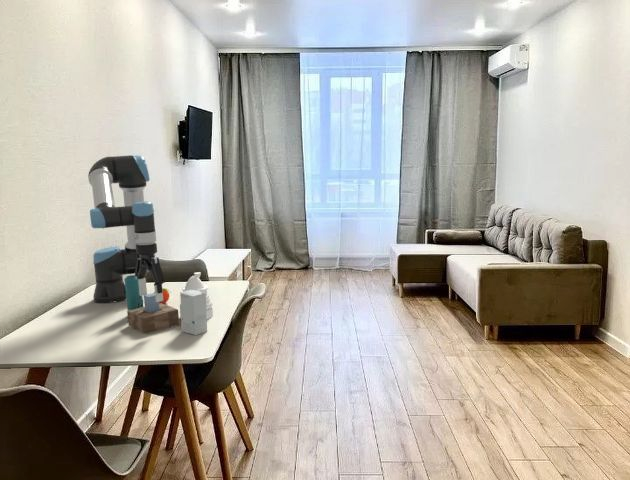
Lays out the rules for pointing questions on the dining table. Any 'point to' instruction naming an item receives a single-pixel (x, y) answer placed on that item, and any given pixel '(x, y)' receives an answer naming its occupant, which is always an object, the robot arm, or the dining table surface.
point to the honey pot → (197, 285)
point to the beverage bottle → (132, 290)
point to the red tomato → (165, 295)
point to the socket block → (153, 319)
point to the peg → (151, 303)
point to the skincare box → (193, 312)
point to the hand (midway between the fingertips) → (151, 298)
